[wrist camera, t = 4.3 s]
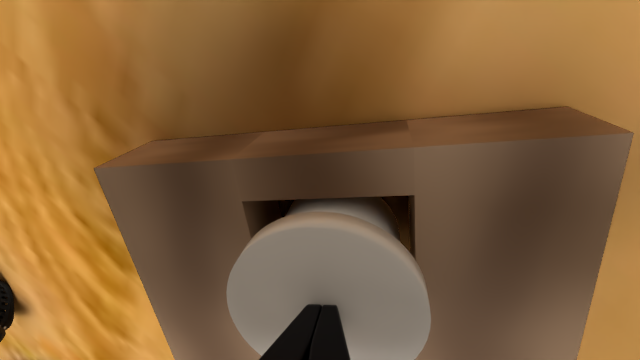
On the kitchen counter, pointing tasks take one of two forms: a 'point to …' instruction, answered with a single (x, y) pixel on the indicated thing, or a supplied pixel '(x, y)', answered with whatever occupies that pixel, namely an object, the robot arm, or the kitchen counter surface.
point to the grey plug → (333, 278)
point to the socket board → (424, 221)
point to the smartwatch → (5, 308)
